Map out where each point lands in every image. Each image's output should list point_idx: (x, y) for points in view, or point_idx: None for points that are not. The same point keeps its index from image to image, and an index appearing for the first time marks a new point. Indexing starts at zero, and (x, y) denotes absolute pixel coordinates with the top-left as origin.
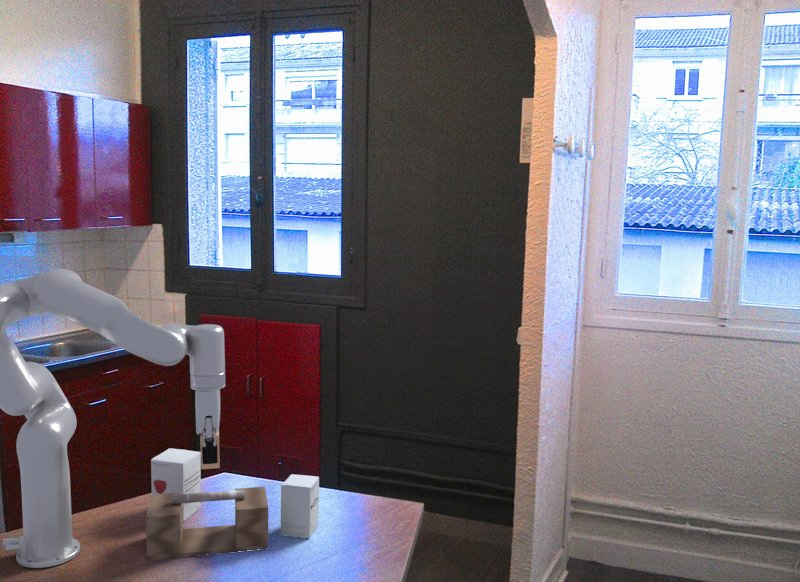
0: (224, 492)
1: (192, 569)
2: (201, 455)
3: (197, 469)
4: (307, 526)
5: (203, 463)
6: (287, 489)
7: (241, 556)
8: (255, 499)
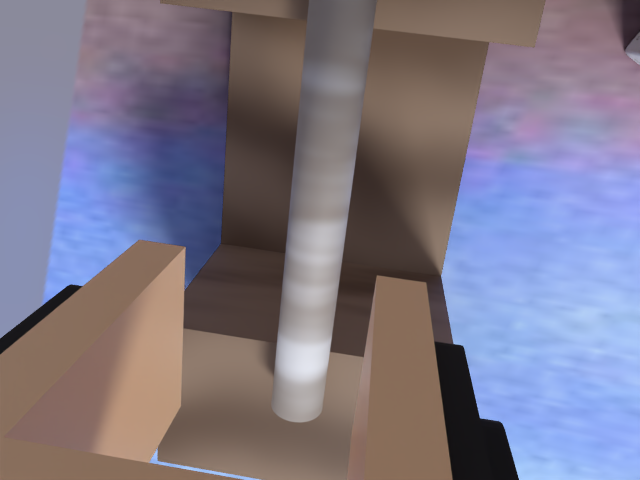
0: (294, 314)
1: (127, 52)
2: (59, 317)
3: None
4: None
5: (75, 290)
6: None
7: (192, 248)
8: (269, 433)
